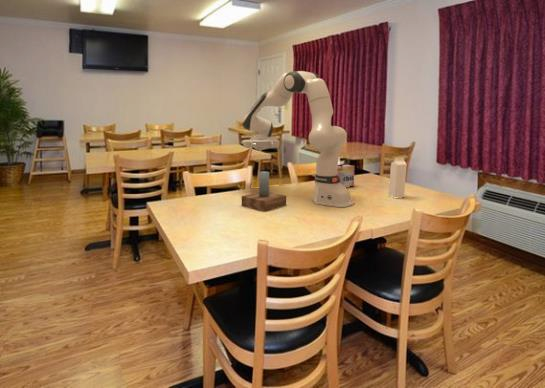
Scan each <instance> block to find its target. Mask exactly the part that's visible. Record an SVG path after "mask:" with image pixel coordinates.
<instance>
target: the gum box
mask: <svg viewBox="0 0 545 388" xmlns="http://www.w3.org/2000/svg"><path fill="white" fill-rule="evenodd" d="M337 175H338V176H339V177H342V178H341V179H340V183H341V184H342V185H343V186H344V187H350V186H354V187H355V165H350V164H348V163H344V164H343V163H341V164H338V170H337ZM350 188H351V187H350Z"/></svg>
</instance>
